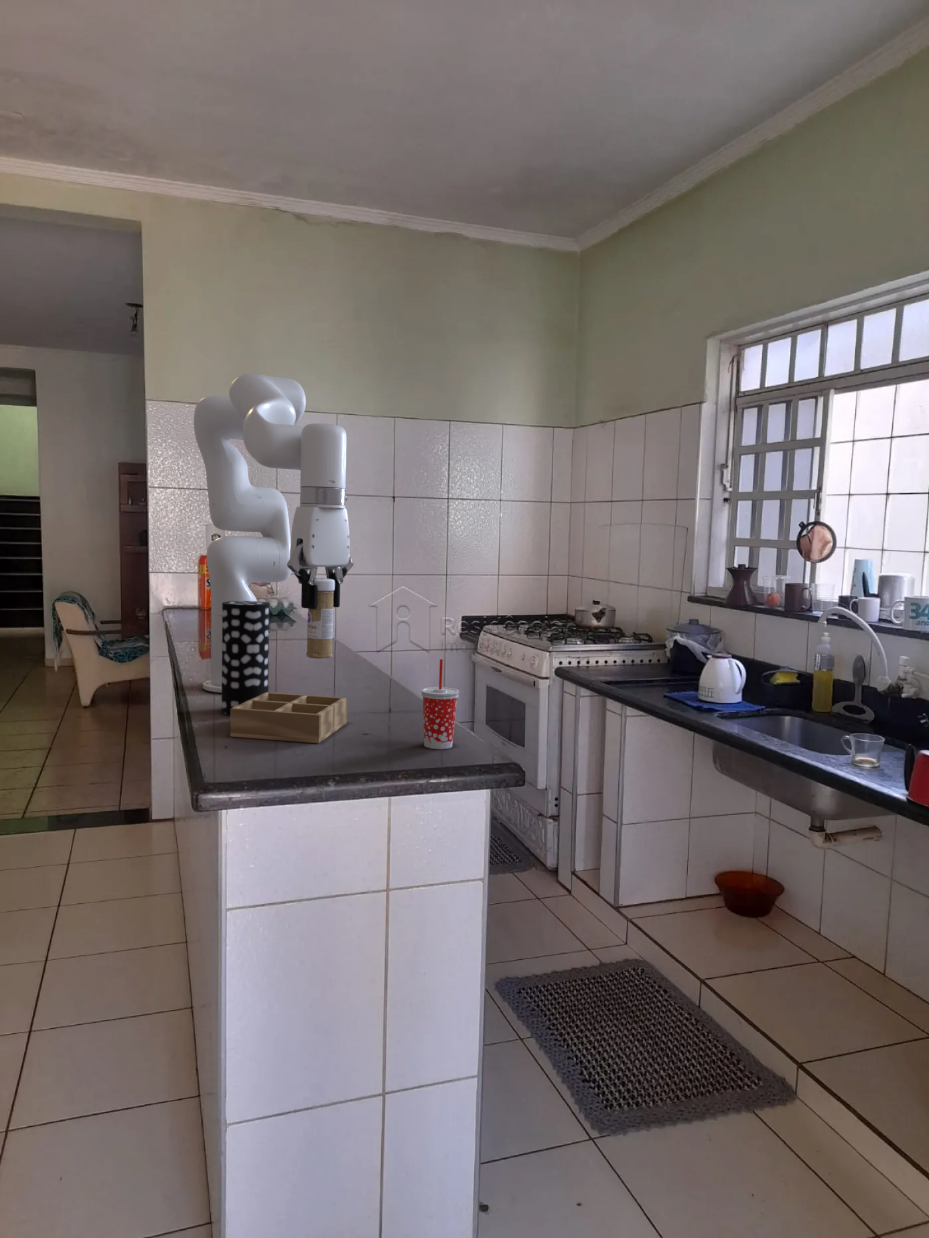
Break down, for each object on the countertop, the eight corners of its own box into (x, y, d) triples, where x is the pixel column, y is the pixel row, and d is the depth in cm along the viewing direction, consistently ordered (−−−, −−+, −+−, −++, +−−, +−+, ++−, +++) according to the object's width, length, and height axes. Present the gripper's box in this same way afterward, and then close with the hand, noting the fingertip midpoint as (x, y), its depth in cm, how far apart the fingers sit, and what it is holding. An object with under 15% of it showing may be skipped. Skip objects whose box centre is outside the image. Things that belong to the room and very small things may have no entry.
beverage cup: (453, 751, 136) (456, 663, 134) (415, 748, 137) (418, 660, 135) (460, 742, 142) (463, 657, 140) (423, 739, 143) (426, 655, 141)
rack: (265, 717, 155) (266, 692, 154) (346, 723, 152) (347, 697, 152) (230, 736, 140) (230, 708, 139) (318, 743, 138) (319, 715, 137)
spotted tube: (256, 717, 154) (257, 605, 152) (213, 714, 156) (213, 603, 154) (275, 708, 162) (276, 602, 160) (234, 705, 164) (235, 600, 162)
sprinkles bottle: (301, 656, 148) (302, 578, 146) (323, 654, 151) (324, 577, 150) (316, 660, 145) (317, 579, 143) (338, 658, 148) (340, 579, 146)
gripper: (342, 501, 154) (339, 603, 156) (268, 496, 140) (267, 608, 142) (373, 502, 150) (370, 606, 152) (300, 496, 136) (298, 612, 138)
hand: (320, 606), depth 147 cm, fingers closed on sprinkles bottle, 4 cm apart
